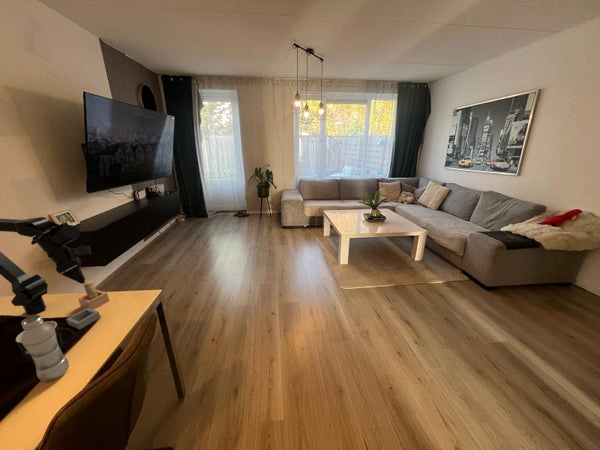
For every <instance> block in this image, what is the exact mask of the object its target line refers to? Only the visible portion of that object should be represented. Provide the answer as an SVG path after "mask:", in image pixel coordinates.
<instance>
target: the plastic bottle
mask: <svg viewBox="0 0 600 450" xmlns="http://www.w3.org/2000/svg"><path fill="white" fill-rule="evenodd" d="M44 322H45V321H44V319H43V318H42V316H41V315H40V314H39V315H38V314H35V315H31V316H29V317H26V318H25V319H23V320H22V321H20V323H21V326H22V329H23V331H25V332H24V333H23V335H22V338H21V342H22V344H23V346H24V347H25V348H26V349H27V350H28V352H29V353H30V355H31V356H32V358H33V360H34V363H35V364H34V363H33V364H34V365H35V373H36V376H37V378H38V379H39V380H40V381H43V382H51V381H54V380H57V379H58V378H60V377H62V376H63V375H64V374H65V373H66V372H67V371H68V368H69V367H70V363H69V360H68V358H67V356H66V355H64V353H63V352H62V351H61V350H60V348H59V345H58V342H57V339H56V333H55V329H54V327H52V326H51V325H49V324H45V323H44Z"/></svg>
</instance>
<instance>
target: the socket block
mask: <svg viewBox="0 0 600 450" xmlns="http://www.w3.org/2000/svg"><path fill="white" fill-rule="evenodd" d="M100 318H101V315H100V312H99V311H97V310H95V309H94V310H92V309H90V308H86V309H85V308H84V309H83V310H80V311H79V312H77V313H75V314H74V315H71V316H70V317H68V318H66V319H65V320H66V322H67V324H68V326H70V327H73V328H75V329H78V330H81V329H83V328H85V327H87V326H88V325H90V324H92V323H93V322H95V321H97V320H99V319H100Z"/></svg>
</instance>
